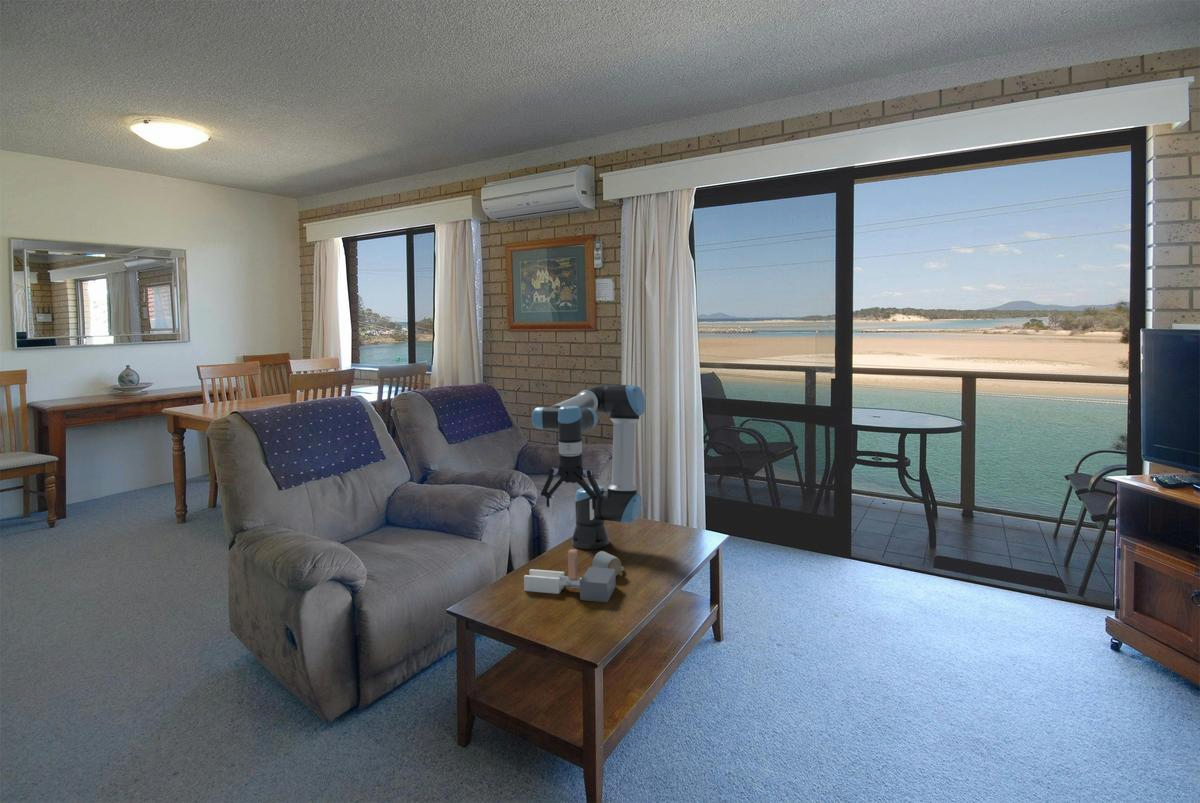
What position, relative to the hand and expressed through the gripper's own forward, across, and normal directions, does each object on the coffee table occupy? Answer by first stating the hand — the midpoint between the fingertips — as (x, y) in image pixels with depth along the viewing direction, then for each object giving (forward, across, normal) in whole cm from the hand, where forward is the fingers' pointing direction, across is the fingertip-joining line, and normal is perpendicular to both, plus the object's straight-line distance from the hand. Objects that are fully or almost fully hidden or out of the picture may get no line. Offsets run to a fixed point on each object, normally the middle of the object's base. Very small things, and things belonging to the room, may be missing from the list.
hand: (571, 517), depth 201 cm
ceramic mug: (+25, +9, +16) cm, 31 cm away
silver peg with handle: (+23, +3, -1) cm, 24 cm away
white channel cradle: (+25, -10, 0) cm, 27 cm away
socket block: (+25, +8, -1) cm, 26 cm away
